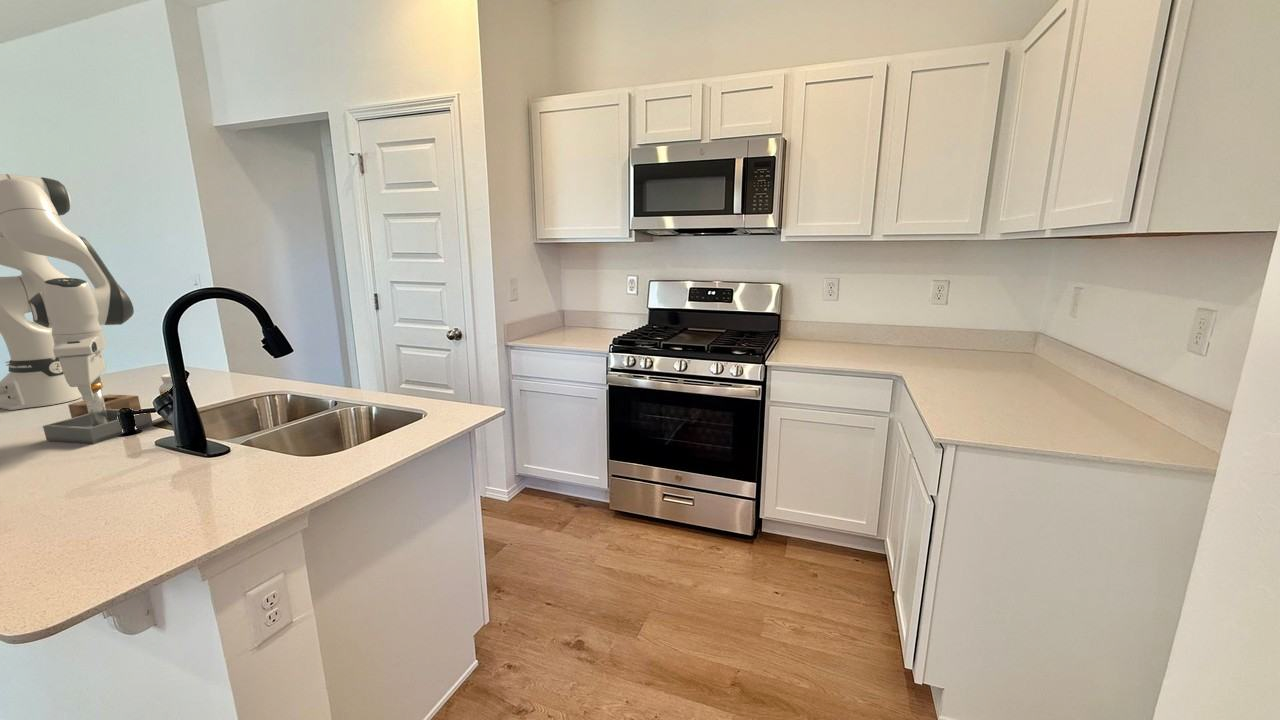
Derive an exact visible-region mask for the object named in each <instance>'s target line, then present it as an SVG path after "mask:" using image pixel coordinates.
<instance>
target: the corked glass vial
mask: <svg viewBox="0 0 1280 720" xmlns="http://www.w3.org/2000/svg"><path fill="white" fill-rule="evenodd" d="M101 388H102V390H101ZM103 388H104V386H103V382H102V381H101V382H93V383H91V390H92V392H93V394H94V399H93V400H91V401H86V404H87V408H88V412H89V416H90V421H91V425H92V427H94V426H97V425H101V424H104V423H107V422H109V420H108V416H107V411H106V407H105V403H104V399H103V396H104V394H103Z"/></svg>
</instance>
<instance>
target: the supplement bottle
mask: <svg viewBox="0 0 1280 720" xmlns="http://www.w3.org/2000/svg"><path fill="white" fill-rule="evenodd" d="M170 374H171V373H166V374H163V375H162V374H161V377H160V378H161V381H162V382H163V384H161V385H160V386H159V388H158V391H159V395H160V397H161V395H162V394H164V393H165V392H167V391H169V390H170V389H171V388H172V380H171V376H170ZM188 386H189V389H190V391H191V393H192V394H193V392H192V391H193V390H192V386H191V383H189V382H188Z"/></svg>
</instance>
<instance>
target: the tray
mask: <svg viewBox="0 0 1280 720" xmlns="http://www.w3.org/2000/svg"><path fill="white" fill-rule="evenodd" d="M119 410H120V409H106V411H107V416H108V420H109V422H107V423H104V424H101V425H97V426H94V427H92V425H91V421H90V416H89V414H85V415H82V416H78V417H74V418H71V417H70V418H68V419H64V420H61V421H56V422H53V423H49V424H45V425H43V426H42V428H43V432H44V436H45V441H46V442H55V443H56V442H57V443H69V444H70V443H73V444H88V445H95V444H98V443H101V442H105V441H107V440H110V439H114V438H117V437H120V436H122V435H121V434H122V427H121V425H120V422H119V420H118V419H117V412H118V411H119ZM134 411H139V410H134ZM151 413H152V412H150V413H146V414H139V415H135V416H134V418H135V423H136V428H137V429H139V430H142V429H145V428H148V427H151V426H153V425H154V422H153V418H152V414H151Z"/></svg>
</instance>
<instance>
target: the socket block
mask: <svg viewBox="0 0 1280 720" xmlns="http://www.w3.org/2000/svg"><path fill="white" fill-rule="evenodd" d="M103 399H104V403H105V407H106V409H122V408H131V409H133V410H141V411H142V408H141V402H140V398H139V395H126V394H106V395H103ZM67 406H68V409H69V413H70V419H71V418H74V417H78V416H82V415H85V414H89V412H88V408H87V404H86V401H83V400H81V401H78V402H73V403H70V404H68V405H67Z"/></svg>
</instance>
